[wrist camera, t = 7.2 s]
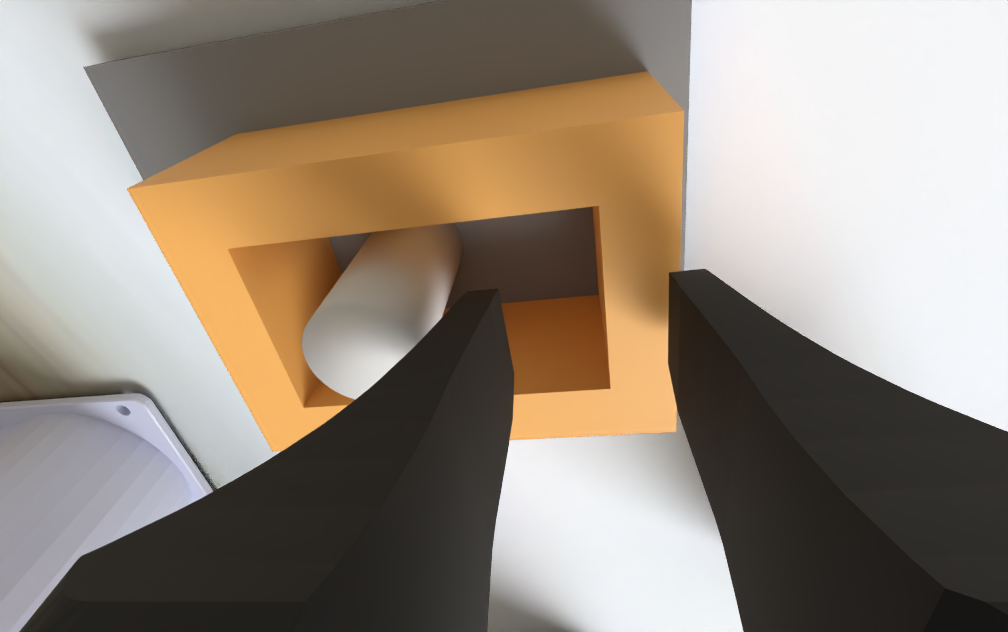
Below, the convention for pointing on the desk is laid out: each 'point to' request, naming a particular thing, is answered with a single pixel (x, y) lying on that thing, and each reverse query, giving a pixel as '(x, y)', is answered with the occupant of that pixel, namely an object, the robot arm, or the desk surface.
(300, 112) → the plate
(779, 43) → the desk surface
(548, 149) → the link
